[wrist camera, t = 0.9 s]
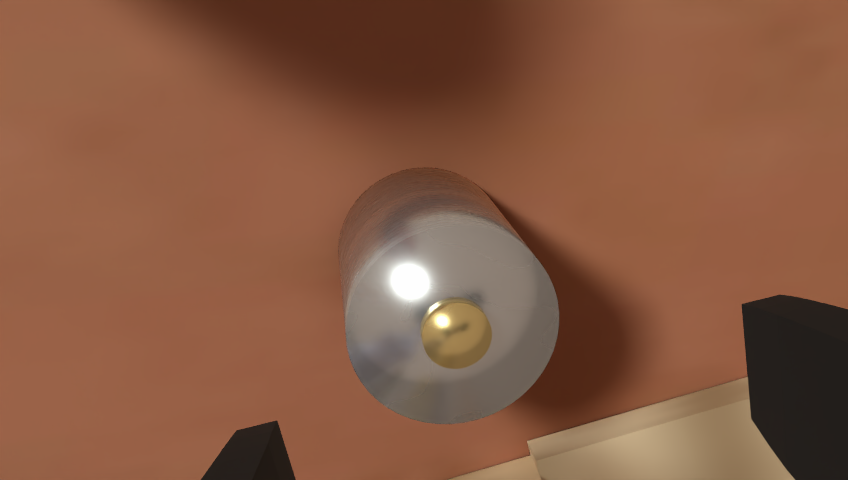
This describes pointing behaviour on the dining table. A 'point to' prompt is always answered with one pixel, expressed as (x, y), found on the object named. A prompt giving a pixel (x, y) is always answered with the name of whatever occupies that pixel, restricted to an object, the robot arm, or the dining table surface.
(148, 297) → the dining table surface
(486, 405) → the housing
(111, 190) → the dining table surface
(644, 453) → the press frame
